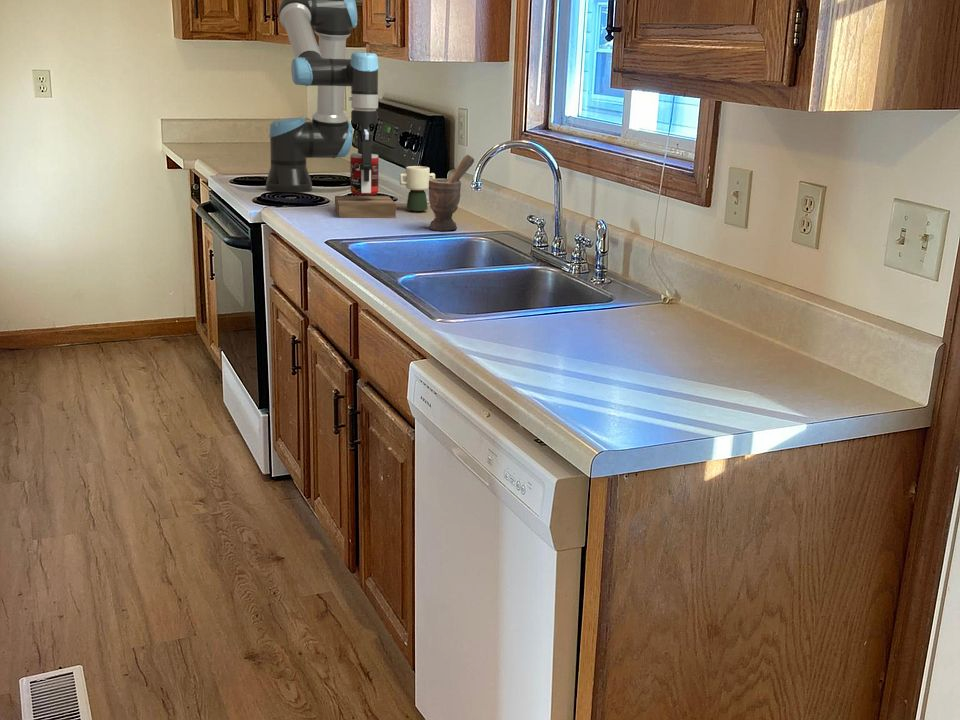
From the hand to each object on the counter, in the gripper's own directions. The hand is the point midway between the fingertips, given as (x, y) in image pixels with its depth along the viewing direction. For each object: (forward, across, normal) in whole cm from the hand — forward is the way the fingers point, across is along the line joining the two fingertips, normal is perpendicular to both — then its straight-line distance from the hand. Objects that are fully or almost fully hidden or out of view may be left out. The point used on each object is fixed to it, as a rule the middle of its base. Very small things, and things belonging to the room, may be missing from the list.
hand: (364, 190), depth 290 cm
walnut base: (+7, 0, 0) cm, 7 cm away
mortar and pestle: (+7, +27, +20) cm, 34 cm away
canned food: (+1, 0, 0) cm, 1 cm away
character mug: (+7, -4, +16) cm, 18 cm away
